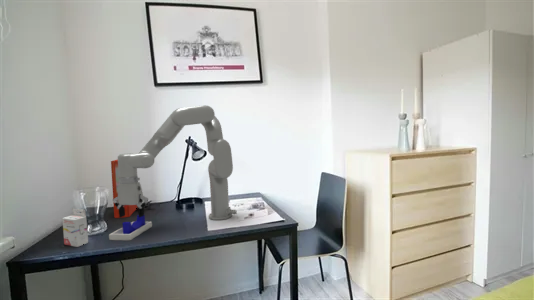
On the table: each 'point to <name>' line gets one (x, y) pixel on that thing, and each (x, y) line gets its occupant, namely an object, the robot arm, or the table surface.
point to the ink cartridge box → (75, 228)
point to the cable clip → (133, 225)
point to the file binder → (115, 183)
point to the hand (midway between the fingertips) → (131, 216)
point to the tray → (120, 236)
